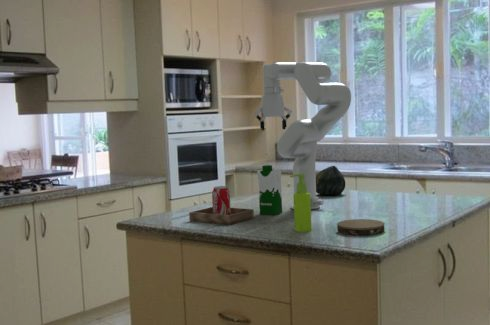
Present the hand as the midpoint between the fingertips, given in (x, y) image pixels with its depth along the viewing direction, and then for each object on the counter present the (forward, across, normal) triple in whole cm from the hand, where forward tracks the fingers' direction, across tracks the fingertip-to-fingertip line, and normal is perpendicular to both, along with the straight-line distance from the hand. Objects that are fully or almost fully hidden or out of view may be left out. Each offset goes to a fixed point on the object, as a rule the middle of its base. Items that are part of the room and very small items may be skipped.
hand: (273, 129), depth 281 cm
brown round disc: (+33, -14, +74) cm, 82 cm away
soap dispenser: (+33, +4, +65) cm, 73 cm away
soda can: (+32, +29, +33) cm, 55 cm away
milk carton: (+33, +8, +27) cm, 44 cm away
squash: (+34, -30, -12) cm, 46 cm away
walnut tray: (+33, +29, +33) cm, 55 cm away
